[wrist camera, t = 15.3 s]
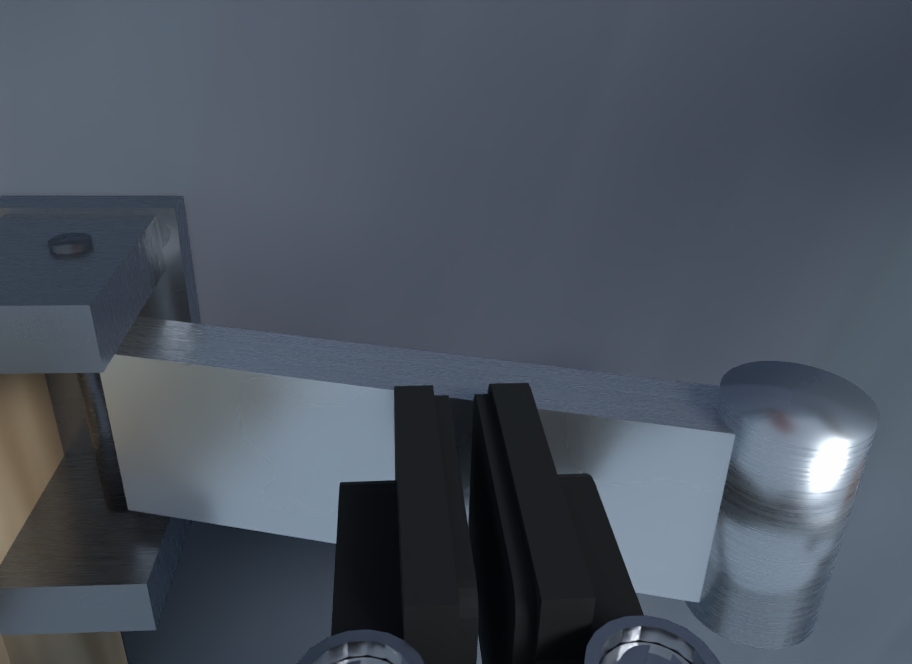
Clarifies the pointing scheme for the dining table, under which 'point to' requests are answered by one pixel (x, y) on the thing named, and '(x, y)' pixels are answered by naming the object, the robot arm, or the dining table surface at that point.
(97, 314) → the bracket
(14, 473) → the socket
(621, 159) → the dining table surface
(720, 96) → the dining table surface
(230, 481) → the latch bar
